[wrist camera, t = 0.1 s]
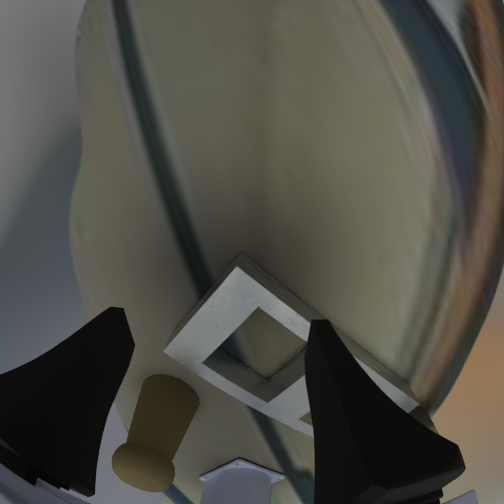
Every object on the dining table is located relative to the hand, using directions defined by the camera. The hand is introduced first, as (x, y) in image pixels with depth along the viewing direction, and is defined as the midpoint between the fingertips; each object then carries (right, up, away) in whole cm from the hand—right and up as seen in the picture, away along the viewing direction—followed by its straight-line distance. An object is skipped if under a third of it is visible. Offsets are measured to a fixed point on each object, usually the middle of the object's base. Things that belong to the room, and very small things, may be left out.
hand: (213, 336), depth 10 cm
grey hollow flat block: (+6, -7, +13) cm, 16 cm away
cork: (-7, -11, +15) cm, 20 cm away
